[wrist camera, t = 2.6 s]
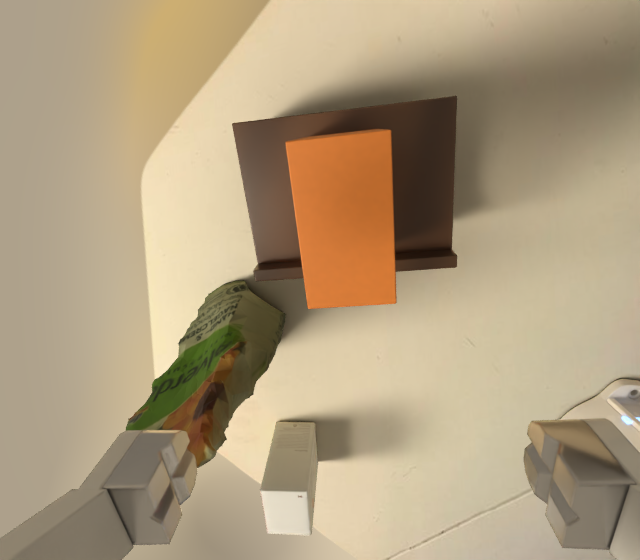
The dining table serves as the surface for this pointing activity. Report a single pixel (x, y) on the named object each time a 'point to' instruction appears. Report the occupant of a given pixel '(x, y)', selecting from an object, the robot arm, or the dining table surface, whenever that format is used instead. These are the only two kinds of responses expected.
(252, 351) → the pouch
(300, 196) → the block
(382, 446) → the dining table surface
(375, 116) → the shelf
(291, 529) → the small box
